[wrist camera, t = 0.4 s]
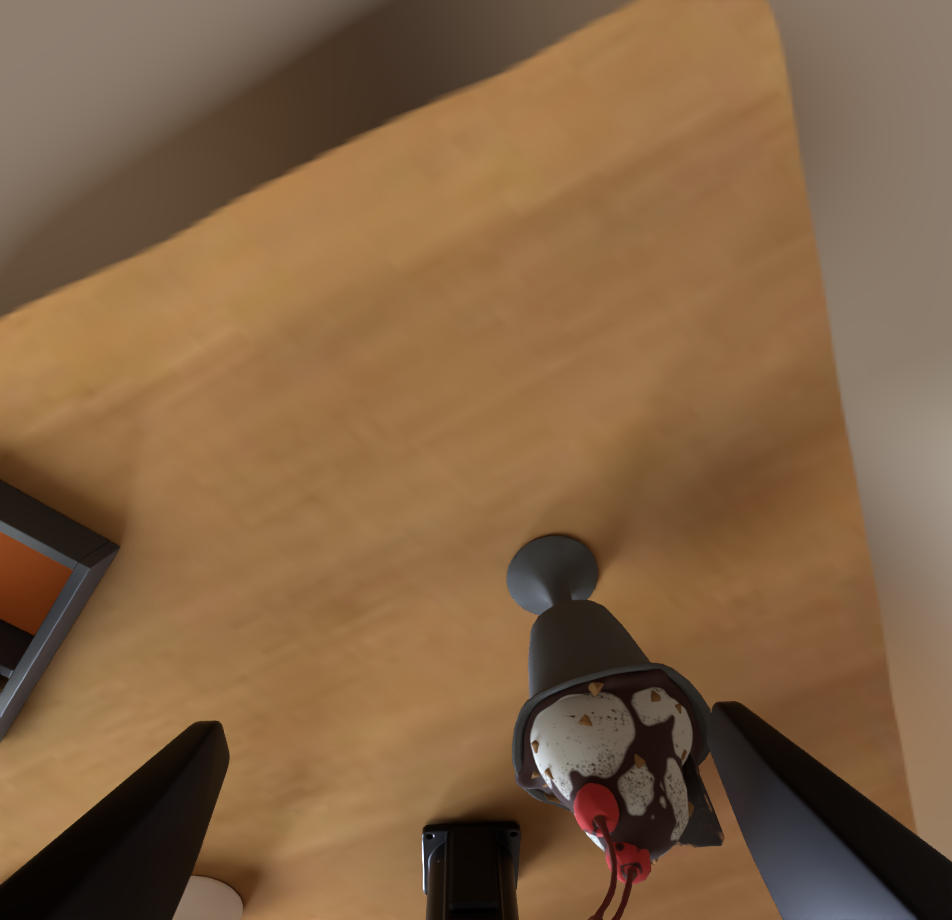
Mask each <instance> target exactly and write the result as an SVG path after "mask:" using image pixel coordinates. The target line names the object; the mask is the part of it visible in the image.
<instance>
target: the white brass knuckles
mask: <svg viewBox="0 0 952 920" xmlns="http://www.w3.org/2000/svg"><path fill="white" fill-rule="evenodd" d="M242 914H243V904H242V901H241V899H240V897H239V895H238V894H237V893H236V892H235V891H234V890H233V889H232V888H231V887H229V886H228V885H226V884H224V883H222V882H220V881H218V880H215V879H212V878H208V877H202V876H191V877H190V879H189V881H188V884H187V886H186V889H185V891H184V894H183V896H182V898H181V900H180V903H179V905H178V907H177V910H176V912H175V914H174V917H173V919H172V920H241V918H242Z"/></svg>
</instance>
